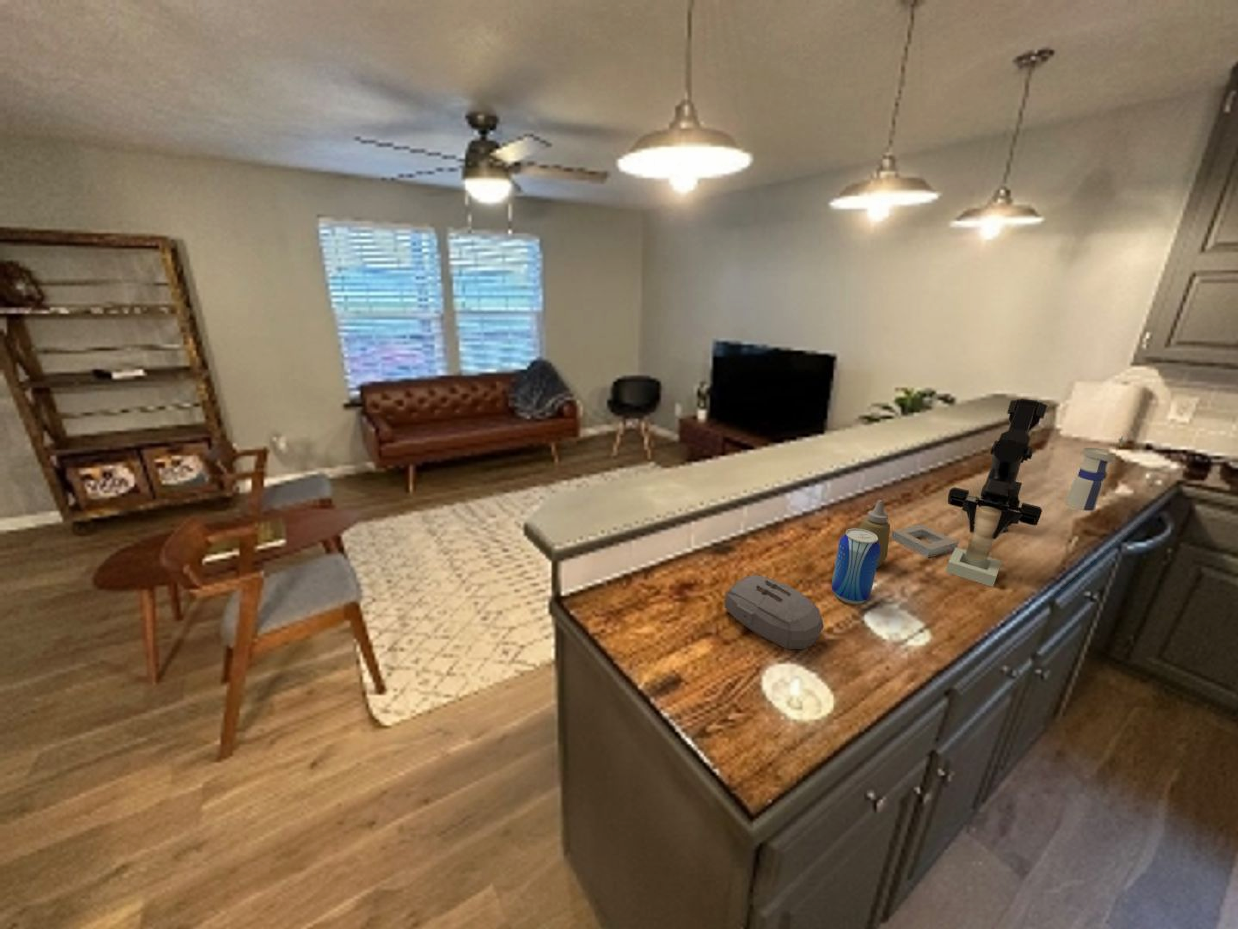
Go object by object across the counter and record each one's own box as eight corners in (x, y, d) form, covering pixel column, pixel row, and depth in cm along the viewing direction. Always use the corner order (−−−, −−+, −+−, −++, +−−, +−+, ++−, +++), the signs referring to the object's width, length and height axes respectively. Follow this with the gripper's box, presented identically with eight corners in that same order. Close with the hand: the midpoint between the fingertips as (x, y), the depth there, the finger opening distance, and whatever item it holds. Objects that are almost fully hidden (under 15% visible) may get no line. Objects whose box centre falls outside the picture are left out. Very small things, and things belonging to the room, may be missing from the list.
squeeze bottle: (882, 558, 132) (896, 496, 126) (887, 573, 125) (901, 509, 119) (849, 553, 135) (861, 492, 129) (852, 568, 128) (865, 504, 122)
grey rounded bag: (714, 615, 109) (795, 666, 95) (717, 582, 106) (801, 630, 92) (756, 590, 118) (835, 633, 104) (759, 560, 115) (842, 600, 101)
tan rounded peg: (967, 550, 128) (980, 504, 124) (988, 556, 125) (1002, 509, 121) (964, 556, 125) (977, 510, 121) (985, 563, 122) (1000, 515, 118)
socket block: (919, 531, 147) (920, 524, 146) (956, 550, 137) (958, 542, 136) (890, 538, 143) (892, 530, 142) (927, 557, 133) (929, 549, 132)
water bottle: (1083, 500, 170) (1108, 431, 162) (1103, 511, 162) (1131, 438, 154) (1057, 499, 171) (1081, 430, 162) (1076, 510, 163) (1102, 437, 154)
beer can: (866, 610, 111) (880, 548, 105) (827, 598, 115) (838, 537, 110) (871, 592, 118) (884, 532, 112) (833, 581, 122) (844, 523, 116)
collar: (953, 557, 133) (955, 547, 132) (998, 570, 127) (1001, 560, 126) (945, 571, 126) (948, 561, 125) (992, 587, 120) (996, 576, 119)
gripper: (958, 457, 126) (939, 510, 122) (1053, 476, 114) (1035, 535, 110) (957, 477, 134) (938, 528, 130) (1045, 497, 122) (1028, 552, 118)
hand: (982, 535), depth 122 cm, fingers closed on tan rounded peg, 4 cm apart
